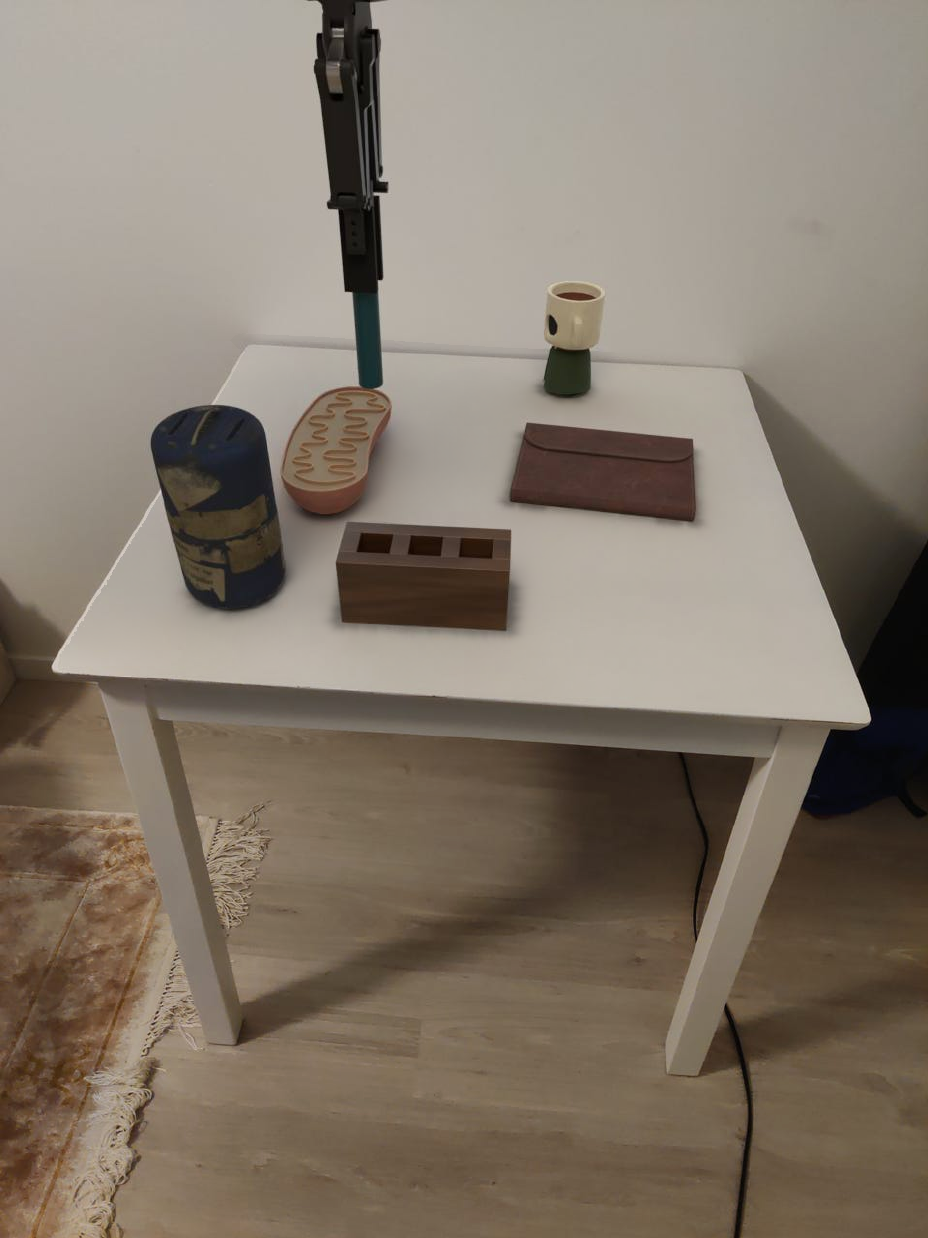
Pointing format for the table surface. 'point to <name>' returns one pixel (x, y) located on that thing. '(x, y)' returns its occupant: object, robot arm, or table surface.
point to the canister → (220, 504)
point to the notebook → (606, 471)
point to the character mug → (571, 334)
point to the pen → (368, 335)
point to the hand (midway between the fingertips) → (364, 283)
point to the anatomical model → (334, 448)
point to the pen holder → (424, 575)
